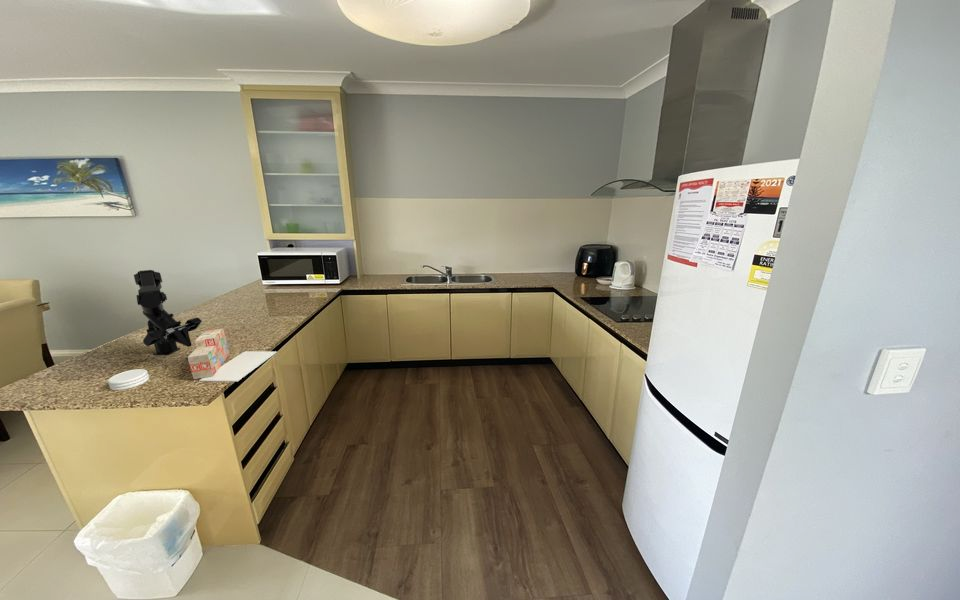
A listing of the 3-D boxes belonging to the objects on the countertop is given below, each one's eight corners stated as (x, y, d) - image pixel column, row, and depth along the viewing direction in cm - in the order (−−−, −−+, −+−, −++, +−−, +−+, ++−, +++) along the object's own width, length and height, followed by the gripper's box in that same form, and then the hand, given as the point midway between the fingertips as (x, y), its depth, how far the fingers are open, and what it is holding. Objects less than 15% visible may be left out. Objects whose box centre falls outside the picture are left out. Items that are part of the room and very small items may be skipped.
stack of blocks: (213, 376, 122) (205, 346, 119) (193, 380, 120) (184, 349, 116) (230, 353, 141) (223, 327, 138) (212, 356, 139) (205, 330, 135)
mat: (199, 381, 120) (198, 380, 119) (244, 352, 144) (244, 351, 143) (237, 381, 120) (237, 380, 120) (276, 352, 144) (276, 351, 144)
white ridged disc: (142, 374, 124) (139, 366, 123) (155, 380, 120) (152, 372, 119) (105, 386, 115) (102, 378, 114) (117, 393, 111) (114, 385, 110)
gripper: (176, 322, 139) (204, 348, 140) (124, 338, 121) (155, 368, 122) (188, 306, 135) (215, 332, 136) (135, 321, 117) (168, 351, 119)
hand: (190, 345), depth 129 cm, fingers closed
